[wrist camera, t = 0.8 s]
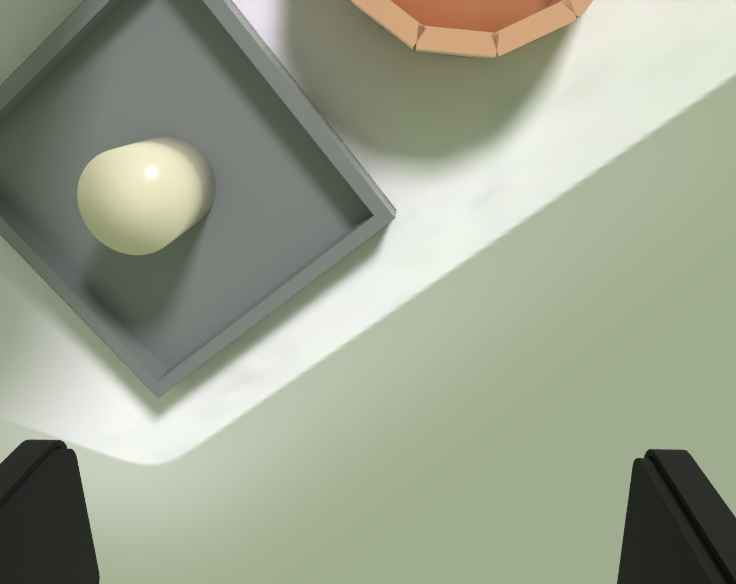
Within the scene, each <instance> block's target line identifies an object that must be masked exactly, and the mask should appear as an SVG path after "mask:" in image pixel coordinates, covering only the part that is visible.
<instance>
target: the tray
mask: <svg viewBox="0 0 736 584" xmlns="http://www.w3.org/2000/svg"><path fill="white" fill-rule="evenodd" d="M160 136H171V137H176V138H179V139H182V140H185V141H187V142H189V143H190V144H192V145H194V146H195V147H196V148H197V149H199V151H200V152H201V153H202V154H203V155H204V156H205V157H206V159H207V160H208V162H209V163H210V165H211V168H212V170H213V173H214V176H215V181H216V194H215V199H214V202H213V205H212V207H211V209H210V211H209V212H208V213H207V215H206V216H205V217H204V218H203V219H202V220H200V221H199V222H198V223H196V224H195V225H194V226H192V227H191V228H190V229H188V230H187V231H186V232H184V233H183V234H181V235H180V236H179V237H177V238H176V239H175V240H173V241H172V242H171V243H169V244H168V245H166V246H165V247H164V248H162V249H160V250H158V251H156V252H154V253H150V254H146V255H129V254H124V253H121V252H118V251H115V250H113V249H111V248H109V247H108V246H106V245H104V244H103V243H102V242H100V241H99V240H98V239H97V238H96V237H95V236H94V235H93V234H92V233H91V231H90V230H89V229H88V227H87V226H86V224H85V222H84V220H83V218H82V216H81V213H80V210H79V206H78V200H77V189H78V183H79V179H80V176H81V174H82V172H83V170H84V169H85V167H86V166H87V165H88V163H89V162H90V161H91V160H92V159H94V158H95V157H96V156H98V155H99V154H101V153H103V152H105V151H108V150H111V149H115V148H119V147H122V146H126V145H129V144H133V143H136V142H140V141H144V140H147V139H151V138H155V137H160ZM395 215H396V209H395V208H394V206H393V205H392V204H391V202H390V201H389V200H388V199H387V197H386V196H385V195H384V194H383V192H382V191H381V190H380V188H379V187H378V186H377V185H376V183H375V182H374V181H373V180H372V178H371V177H370V176H369V174H368V173H367V172H366V171H365V169H364V168H363V167H362V166H361V164H360V163H359V162H358V160H357V159H356V158H355V157H354V155H353V154H352V153H351V152H350V150H349V149H348V148H347V146H346V145H345V144H344V143H343V141H342V140H341V139H340V138H339V136H338V135H337V134H336V132H335V131H334V130H333V129H332V127H331V126H330V125H329V124H328V122H327V121H326V120H325V118H324V117H323V116H322V115H321V113H320V112H319V111H318V110H317V108H316V107H315V106H314V104H313V103H312V102H311V101H310V99H309V98H308V97H307V96H306V94H305V93H304V92H303V90H302V89H301V88H300V87H299V85H298V84H297V83H296V82H295V80H294V79H293V78H292V76H291V75H290V74H289V73H288V71H287V70H286V69H285V68H284V66H283V65H282V64H281V62H280V61H279V60H278V59H277V57H276V56H275V55H274V54H273V52H272V51H271V50H270V48H269V47H268V46H267V45H266V43H265V42H264V41H263V40H262V38H261V37H260V36H259V34H258V33H257V32H256V31H255V29H254V28H253V27H252V25H251V24H250V23H249V22H248V20H247V19H246V18H245V17H244V15H243V14H242V13H241V11H240V10H239V9H238V8H237V6H236V5H235V4H234V3H233V1H232V0H84V1H83V2H82V4H81V5H80V6H79V7H78V8H77V9H76V10H75V11H74V12H73V13H72V14H71V15H70V16H69V17H68V18H67V19H66V20H65V21H64V22H63V23H62V24H61V25H60V26H59V27H58V28H57V29H56V30H55V31H54V32H53V33H52V34H51V35H50V36H49V37H48V38H47V39H46V40H45V41H44V42H43V43H42V44H41V45H40V46H39V47H38V48H37V49H36V50H35V51H34V52H33V53H32V54H31V55H30V56H29V57H28V58H27V59H26V60H25V61H24V63H23V64H22V65H21V66H20V67H19V68H18V69H17V70H16V71H15V72H14V73H13V74H12V75H11V76H10V77H9V78H8V79H7V80H6V81H5V82H4V83H3V84H2V85H1V86H0V235H1V236H2V237H3V238H4V239H5V240H6V241H7V242H8V243H9V244H10V245H11V246H12V247H13V248H14V249H15V250H16V251H17V252H18V253H19V254H20V256H21V257H22V258H23V259H24V260H25V261H26V262H27V263H28V264H29V265H30V266H31V267H32V268H33V269H34V270H35V271H36V272H37V273H38V274H39V275H40V276H41V277H42V278H43V279H44V280H45V281H46V282H47V283H48V285H49V286H50V287H51V288H52V289H53V290H54V291H55V292H56V293H57V294H58V295H59V296H60V297H61V298H62V299H63V300H64V301H65V302H66V303H67V304H68V305H69V306H70V307H71V308H72V309H73V310H74V311H75V312H76V314H77V315H78V316H79V317H80V318H81V319H82V320H83V321H84V322H85V323H86V324H87V325H88V326H89V327H90V328H91V329H92V330H93V331H94V332H95V333H96V334H97V335H98V336H99V337H100V338H101V339H102V340H103V342H104V343H105V344H106V345H107V346H108V347H109V348H110V349H111V350H112V351H113V352H114V353H115V354H116V355H117V356H118V357H119V358H120V359H121V360H122V361H123V362H124V363H125V364H126V365H127V366H128V367H129V368H130V369H131V371H132V372H133V373H134V374H135V375H136V376H137V377H138V378H139V379H140V380H141V381H142V382H143V383H144V384H145V385H146V386H147V387H148V388H149V389H150V390H151V391H152V392H153V393H154V394H155V395H156V396H157V397H158V398H159V397H160V396H162V395H163V394H164V393H166V392H167V391H168V390H170V389H171V388H172V387H174V386H175V385H176V384H178V383H179V382H180V381H182V380H183V379H184V378H185V377H187V376H188V375H189V374H191V373H192V372H193V371H195V370H196V369H197V368H199V367H200V366H201V365H203V364H204V363H205V362H207V361H208V360H209V359H211V358H212V357H213V356H214V355H216V354H217V353H218V352H220V351H221V350H222V349H224V348H225V347H226V346H228V345H229V344H230V343H232V342H233V341H234V340H236V339H237V338H238V337H239V336H241V335H242V334H243V333H245V332H246V331H247V330H249V329H250V328H251V327H253V326H254V325H255V324H257V323H258V322H259V321H261V320H262V319H263V318H264V317H266V316H267V315H268V314H270V313H271V312H272V311H274V310H275V309H276V308H278V307H279V306H280V305H282V304H283V303H284V302H286V301H287V300H288V299H290V298H291V297H292V296H293V295H295V294H296V293H297V292H299V291H300V290H301V289H303V288H304V287H305V286H307V285H308V284H309V283H311V282H312V281H313V280H315V279H316V278H317V277H318V276H320V275H321V274H322V273H324V272H325V271H326V270H328V269H329V268H330V267H332V266H333V265H334V264H336V263H337V262H338V261H340V260H341V259H342V258H343V257H345V256H346V255H347V254H349V253H350V252H351V251H353V250H354V249H355V248H357V247H358V246H359V245H361V244H362V243H363V242H365V241H366V240H367V239H369V238H370V237H371V236H372V235H374V234H375V233H376V232H378V231H379V230H380V229H382V228H383V227H384V226H386V225H387V224H388V223H390V222H391V221H392V220H394V219H395Z"/></svg>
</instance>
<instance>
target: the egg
mask: <svg viewBox="0 0 736 584" xmlns="http://www.w3.org/2000/svg"><path fill="white" fill-rule="evenodd" d="M215 194H216V181H215V176H214V173H213V170H212V168H211V165H210V163H209V162H208V160H207V159H206V157H205V156H204V155H203V154H202V153H201V152H200V151H199V149H197V148H196V147H195V146H194V145H192V144H190V143H189V142H187V141H185V140H182V139H179V138H176V137H171V136H160V137H155V138H151V139H147V140H144V141H140V142H136V143H133V144H129V145H126V146H122V147H119V148H115V149H111V150H108V151H105V152H103V153H101V154H99V155H98V156H96V157H95V158H94V159H92V160H91V161H90V162H89V163H88V165H87V166H86V167H85V169H84V170H83V172H82V174H81V176H80V179H79V183H78V189H77V200H78V206H79V210H80V213H81V216H82V218H83V220H84V222H85V224H86V226H87V227H88V229H89V230H90V231H91V233H92V234H93V235H94V236H95V237H96V238H97V239H98V240H99V241H100V242H102V243H103V244H104V245H106V246H108V247H109V248H111V249H113V250H115V251H118V252H121V253H124V254H129V255H146V254H150V253H154V252H156V251H158V250H160V249H162V248H164V247H165V246H166V245H168V244H169V243H171V242H172V241H173V240H175V239H176V238H177V237H179V236H180V235H181V234H183V233H184V232H186V231H187V230H188V229H190V228H191V227H192V226H194V225H195V224H196V223H198V222H199V221H200V220H202V219H203V218H204V217H205V216H206V215H207V213H208V212H209V211H210V209H211V207H212V205H213V202H214V199H215Z"/></svg>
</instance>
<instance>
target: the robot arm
mask: <svg viewBox="0 0 736 584" xmlns="http://www.w3.org/2000/svg"><path fill="white" fill-rule="evenodd" d="M99 578H100V577H99V570H98V565H97V560H96V554H95V549H94V544H93V539H92V534H91V529H90V523H89V518H88V513H87V508H86V503H85V498H84V492H83V488H82V482H81V477H80V472H79V466H78V461H77V457H76V453H75V452H74V450H72V449H67V446H66V444H65V443H64V442H63V441H61V440H26V441H24V442H22V443H21V444H20V445H19V446H18V447H17V448H16V449H15V450H14V451H13V452H12V453H11V454H10V455H9V456H8V457H7V458H6V459H5V460H4V461H3V462H2V463H1V464H0V584H99ZM617 584H736V518H735V516H734V515H733V513H732V512H731V511H730V509H729V508H728V506H727V505H726V504H725V502H724V501H723V500H722V498H721V497H720V495H719V494H718V493H717V491H716V490H715V488H714V487H713V485H712V484H711V483H710V481H709V480H708V478H707V477H706V476H705V474H704V473H703V472H702V470H701V469H700V467H699V466H698V465H697V463H696V462H695V461H694V459H693V458H692V456H691V455H690V454H689V453H688V452H687V451H686V450H663V449H662V450H661V449H660V450H659V449H649V450H648V451H647V452H646V454H645V456H644V458H637V459H635V461H634V463H633V468H632V475H631V483H630V491H629V498H628V506H627V513H626V521H625V528H624V536H623V544H622V551H621V558H620V566H619V574H618V581H617Z"/></svg>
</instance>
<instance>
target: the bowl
mask: <svg viewBox="0 0 736 584" xmlns="http://www.w3.org/2000/svg"><path fill="white" fill-rule="evenodd" d="M350 1H351V2H352V3H353V4H354V5H355V6H356V7H357V8H358V9H359V10H361V11H362V12H363V13H365V14H366V15H367V16H369V17H370V18H371V19H372V20H374V21H375V22H376V23H378V24H379V25H380V26H382V27H383V28H384V29H385V30H387V31H388V32H389V33H391V34H392V35H393V36H395V37H396V38H397V39H398V40H400V41H401V42H402V43H404V44H405V45H406V46H408V47H409V48H410V49H411V50H413V49H414V48H415V46H416V49H415V51H416V52H426V53H436V54H446V55H456V56H466V57H476V58H492V57H499V56H501V55H503V54H506V53H508V52H510V51H512V50H514V49H516V48H518V47H521V46H523V45H525V44H527V43H529V42H531V41H533V40H536V39H538V38H540V37H542V36H544V35H546V34H548V33H551V32H553V31H555V30H557V29H559V28H561V27H563V26H566V25H568V24H570V23H572V22H574V21H576V20H577V19H578V18H580V17H581V16H582V14H583V13H584V12H585V11H586V9H587V8H588V7H589V5H590V4H591V3H592V1H593V0H350Z"/></svg>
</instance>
